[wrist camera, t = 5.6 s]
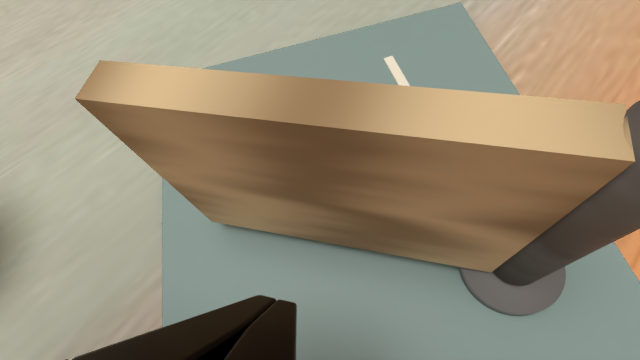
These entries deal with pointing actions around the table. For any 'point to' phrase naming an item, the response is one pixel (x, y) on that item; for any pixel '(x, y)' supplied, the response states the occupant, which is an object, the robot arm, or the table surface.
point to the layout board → (391, 270)
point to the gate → (385, 163)
